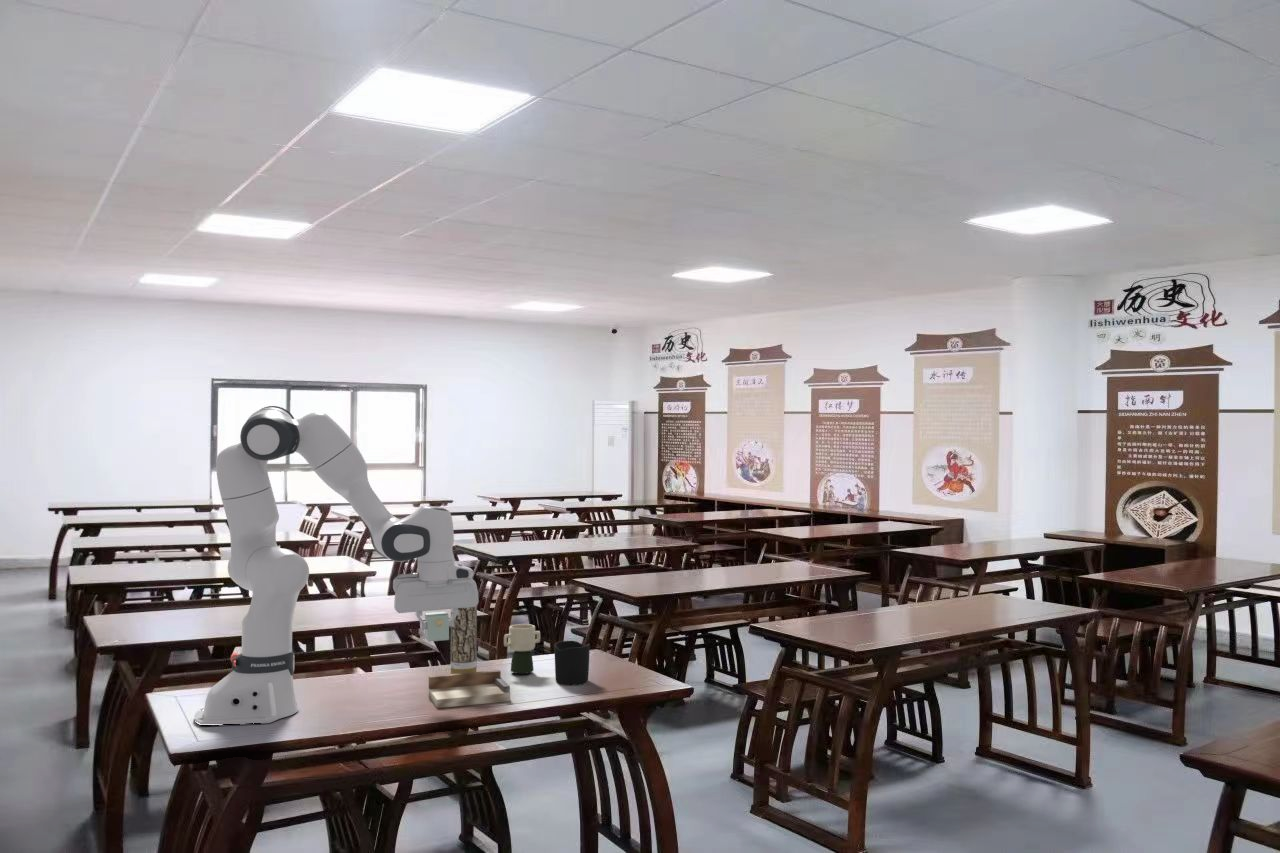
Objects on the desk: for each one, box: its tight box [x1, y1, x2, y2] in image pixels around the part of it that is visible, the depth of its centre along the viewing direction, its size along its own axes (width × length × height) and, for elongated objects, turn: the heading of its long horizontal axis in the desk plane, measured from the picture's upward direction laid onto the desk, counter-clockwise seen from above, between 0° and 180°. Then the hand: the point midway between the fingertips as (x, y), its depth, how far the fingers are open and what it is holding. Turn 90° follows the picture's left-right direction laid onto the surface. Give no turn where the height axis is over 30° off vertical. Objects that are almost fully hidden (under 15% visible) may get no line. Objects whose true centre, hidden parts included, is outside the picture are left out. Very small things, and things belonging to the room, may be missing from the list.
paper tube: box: [450, 605, 478, 674], centre depth 257 cm, size 7×7×25 cm
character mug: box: [503, 623, 541, 675], centre depth 267 cm, size 11×7×13 cm, turn 121°
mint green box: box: [424, 611, 450, 643], centre depth 236 cm, size 5×6×6 cm
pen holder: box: [553, 640, 591, 686], centre depth 258 cm, size 9×9×10 cm
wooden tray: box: [428, 669, 511, 709], centre depth 240 cm, size 18×12×5 cm, turn 112°
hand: (437, 627), depth 237 cm, fingers closed on mint green box, 5 cm apart
